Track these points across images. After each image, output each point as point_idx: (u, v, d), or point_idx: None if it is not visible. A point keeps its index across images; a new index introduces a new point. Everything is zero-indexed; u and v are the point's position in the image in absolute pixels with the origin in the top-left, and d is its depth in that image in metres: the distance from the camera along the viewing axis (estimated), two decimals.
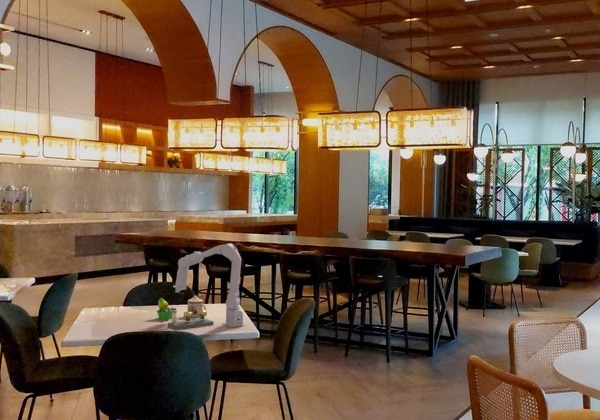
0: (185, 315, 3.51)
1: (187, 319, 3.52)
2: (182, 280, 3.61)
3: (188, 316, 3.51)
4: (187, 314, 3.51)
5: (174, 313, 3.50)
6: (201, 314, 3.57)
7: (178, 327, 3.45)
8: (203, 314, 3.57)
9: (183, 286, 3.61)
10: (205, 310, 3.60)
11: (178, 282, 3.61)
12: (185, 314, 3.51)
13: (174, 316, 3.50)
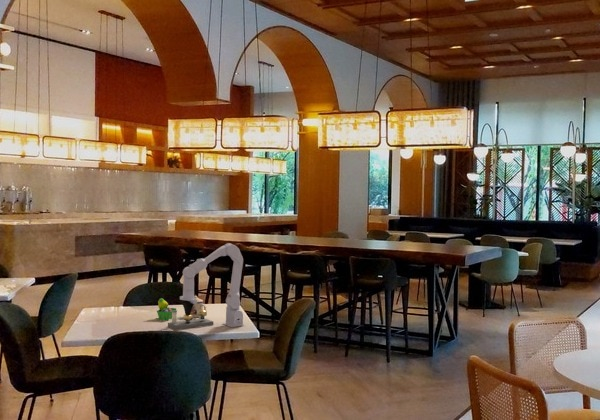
0: (185, 318, 3.52)
1: (187, 322, 3.52)
2: (192, 290, 3.52)
3: (188, 319, 3.51)
4: (187, 317, 3.51)
5: (174, 313, 3.50)
6: (201, 314, 3.57)
7: (178, 327, 3.45)
8: (203, 314, 3.57)
9: (193, 296, 3.53)
10: (205, 310, 3.60)
11: (189, 293, 3.50)
12: (185, 317, 3.52)
13: (174, 316, 3.50)
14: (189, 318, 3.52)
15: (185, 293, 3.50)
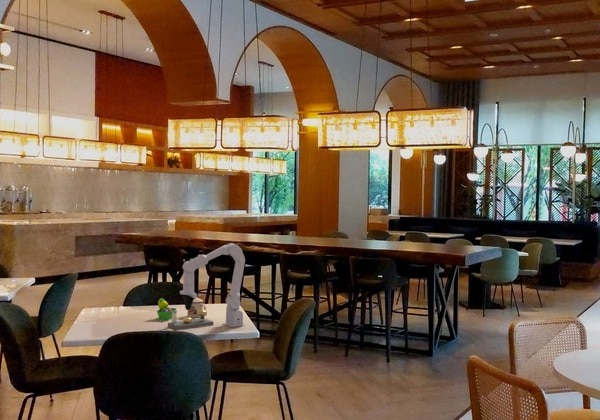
0: (185, 321, 3.52)
1: None
2: (192, 285, 3.51)
3: (188, 322, 3.51)
4: (187, 320, 3.51)
5: (174, 313, 3.50)
6: (201, 314, 3.57)
7: (178, 327, 3.45)
8: (203, 314, 3.57)
9: (193, 290, 3.53)
10: (205, 310, 3.60)
11: (189, 288, 3.50)
12: (185, 320, 3.52)
13: (174, 316, 3.50)
14: (189, 321, 3.52)
15: (185, 287, 3.50)
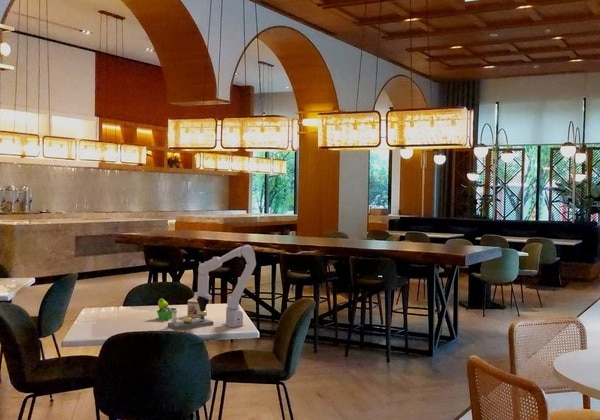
0: (185, 321, 3.52)
1: None
2: (207, 287, 3.57)
3: (188, 322, 3.51)
4: (187, 320, 3.51)
5: (174, 313, 3.50)
6: (201, 314, 3.57)
7: (178, 327, 3.45)
8: (203, 314, 3.57)
9: None
10: (205, 310, 3.60)
11: (204, 290, 3.56)
12: (185, 320, 3.52)
13: (174, 316, 3.50)
14: (189, 321, 3.52)
15: (200, 289, 3.56)
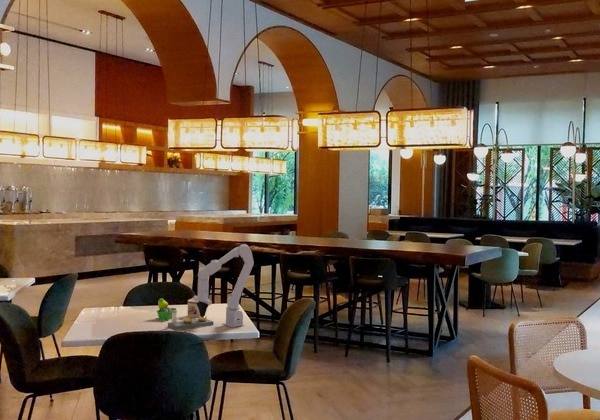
0: (185, 321, 3.52)
1: None
2: (207, 292, 3.57)
3: (188, 322, 3.51)
4: (187, 320, 3.51)
5: (174, 313, 3.50)
6: (201, 320, 3.57)
7: (178, 327, 3.45)
8: (203, 320, 3.57)
9: None
10: (205, 316, 3.60)
11: (203, 295, 3.56)
12: (185, 320, 3.52)
13: (174, 316, 3.50)
14: (189, 321, 3.52)
15: (200, 294, 3.56)
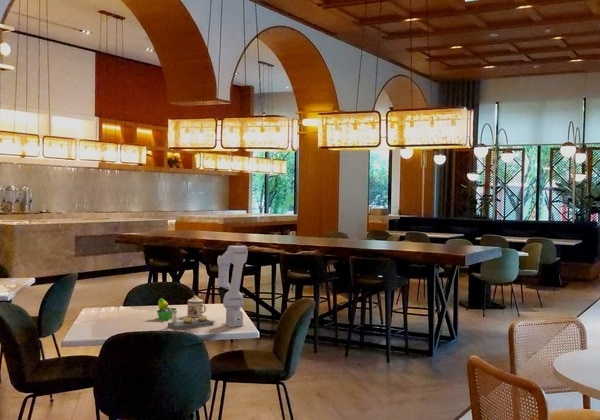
0: (185, 321, 3.52)
1: None
2: (227, 278, 3.76)
3: (188, 322, 3.51)
4: (187, 320, 3.51)
5: (174, 313, 3.50)
6: (201, 320, 3.57)
7: (178, 327, 3.45)
8: (203, 320, 3.57)
9: None
10: (205, 316, 3.60)
11: (224, 280, 3.75)
12: (185, 320, 3.52)
13: (174, 316, 3.50)
14: (189, 321, 3.52)
15: (220, 280, 3.75)
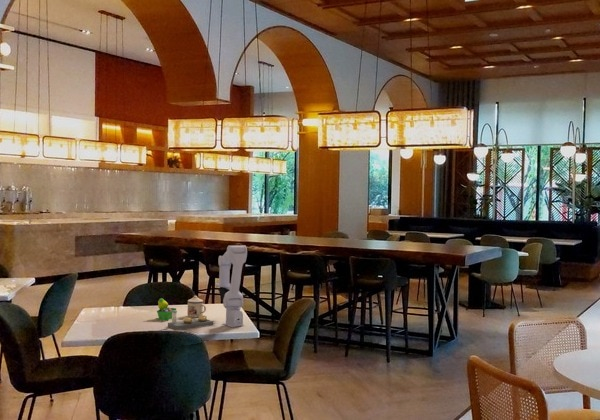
0: (185, 321, 3.52)
1: None
2: (228, 278, 3.77)
3: (188, 322, 3.51)
4: (187, 320, 3.51)
5: (174, 313, 3.50)
6: (201, 320, 3.57)
7: (178, 327, 3.45)
8: (203, 320, 3.57)
9: None
10: (205, 316, 3.60)
11: (225, 280, 3.75)
12: (185, 320, 3.52)
13: (174, 316, 3.50)
14: (189, 321, 3.52)
15: (221, 280, 3.76)
